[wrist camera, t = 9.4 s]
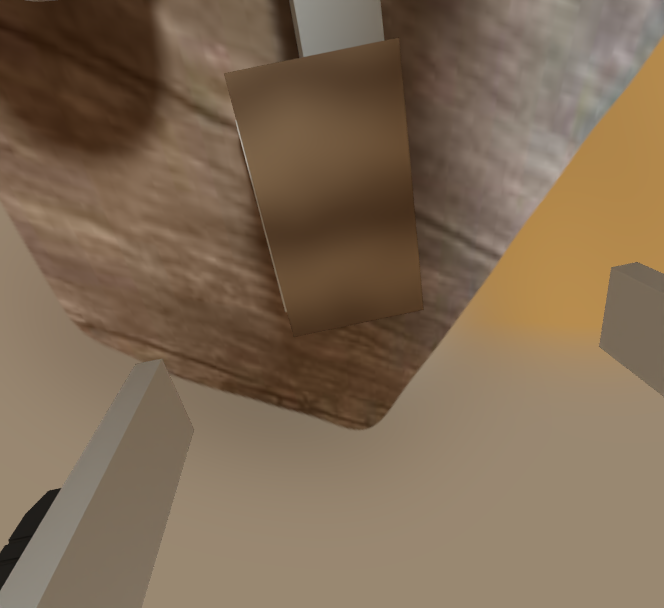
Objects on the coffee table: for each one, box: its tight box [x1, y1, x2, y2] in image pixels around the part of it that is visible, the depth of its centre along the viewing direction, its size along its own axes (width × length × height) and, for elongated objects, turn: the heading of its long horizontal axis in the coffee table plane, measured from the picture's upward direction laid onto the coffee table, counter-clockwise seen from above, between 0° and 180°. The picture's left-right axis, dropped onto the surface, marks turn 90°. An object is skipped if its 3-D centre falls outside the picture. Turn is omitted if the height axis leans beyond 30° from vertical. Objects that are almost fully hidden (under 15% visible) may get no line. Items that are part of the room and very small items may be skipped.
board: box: [224, 38, 424, 337], centre depth 22 cm, size 14×8×2 cm, turn 11°
